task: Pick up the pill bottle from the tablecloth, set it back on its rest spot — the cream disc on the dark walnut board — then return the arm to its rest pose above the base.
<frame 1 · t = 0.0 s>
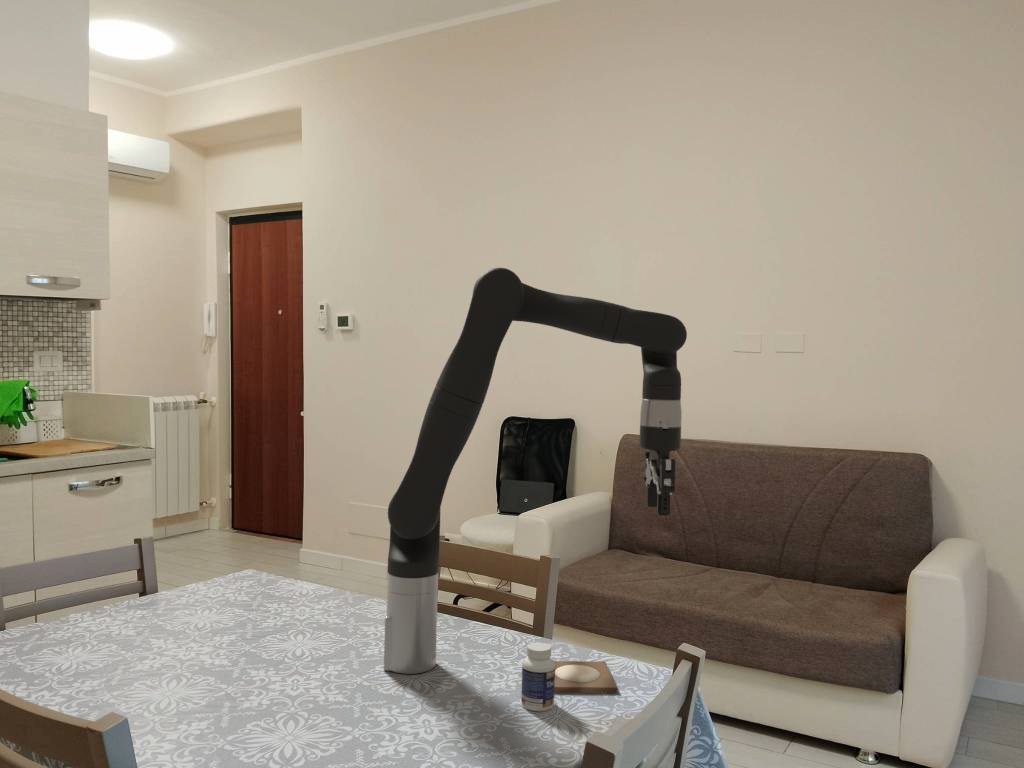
hand: (657, 510, 149), 29 cm above the table, fingers open, 8 cm apart
pill bottle: (537, 706, 131), on the table
rest board: (577, 679, 142), on the table
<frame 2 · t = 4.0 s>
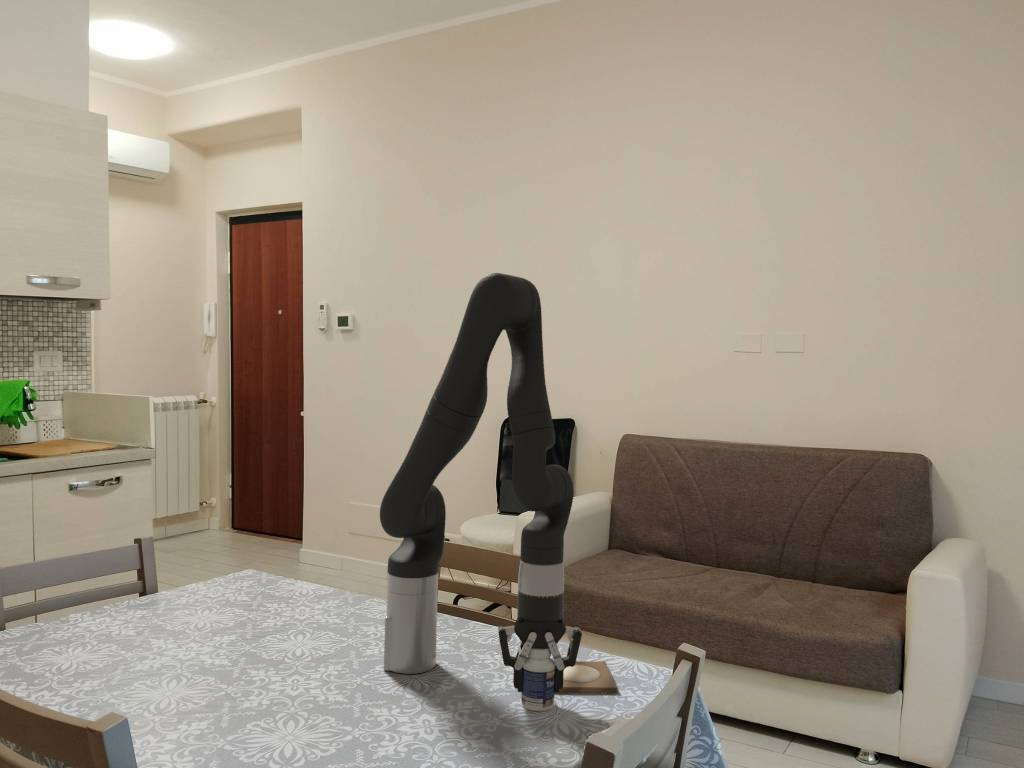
hand: (538, 690, 131), 2 cm above the table, fingers closed on pill bottle, 5 cm apart
pill bottle: (537, 706, 131), on the table, touching gripper
when the fingers open (5 cm above the table, at t = 9.5 s): pill bottle drops 1 cm, resting on rest board.
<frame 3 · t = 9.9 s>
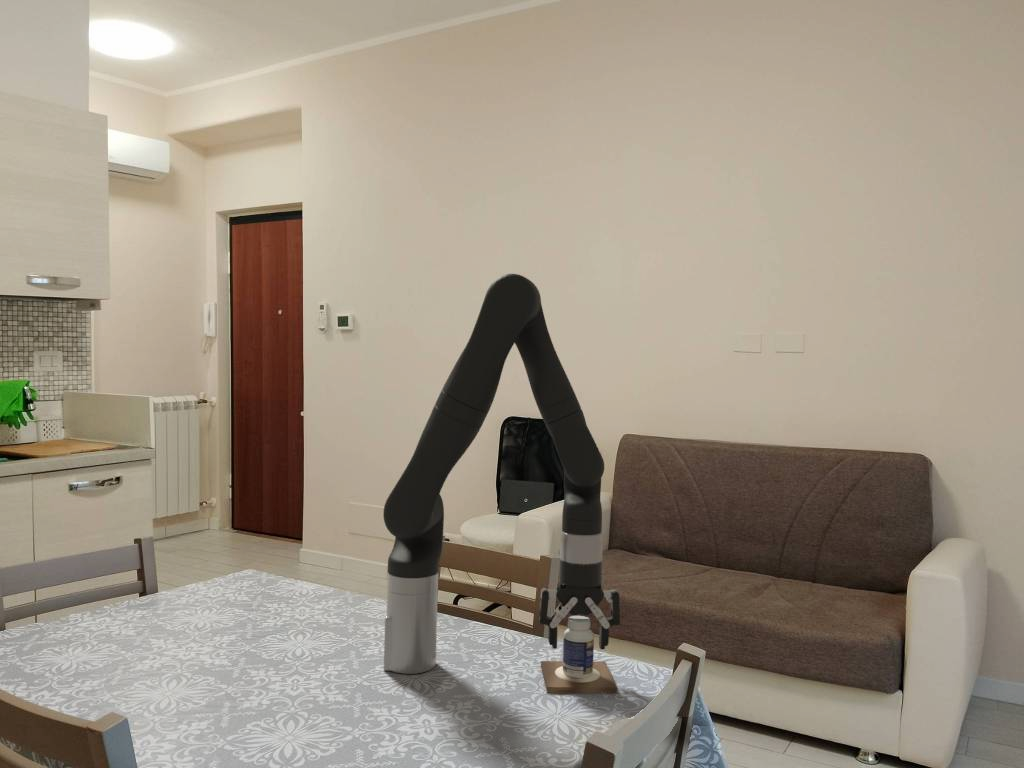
hand: (578, 647, 142), 6 cm above the table, fingers open, 8 cm apart
pill bottle: (577, 674, 142), point 1 cm above the table, touching rest board
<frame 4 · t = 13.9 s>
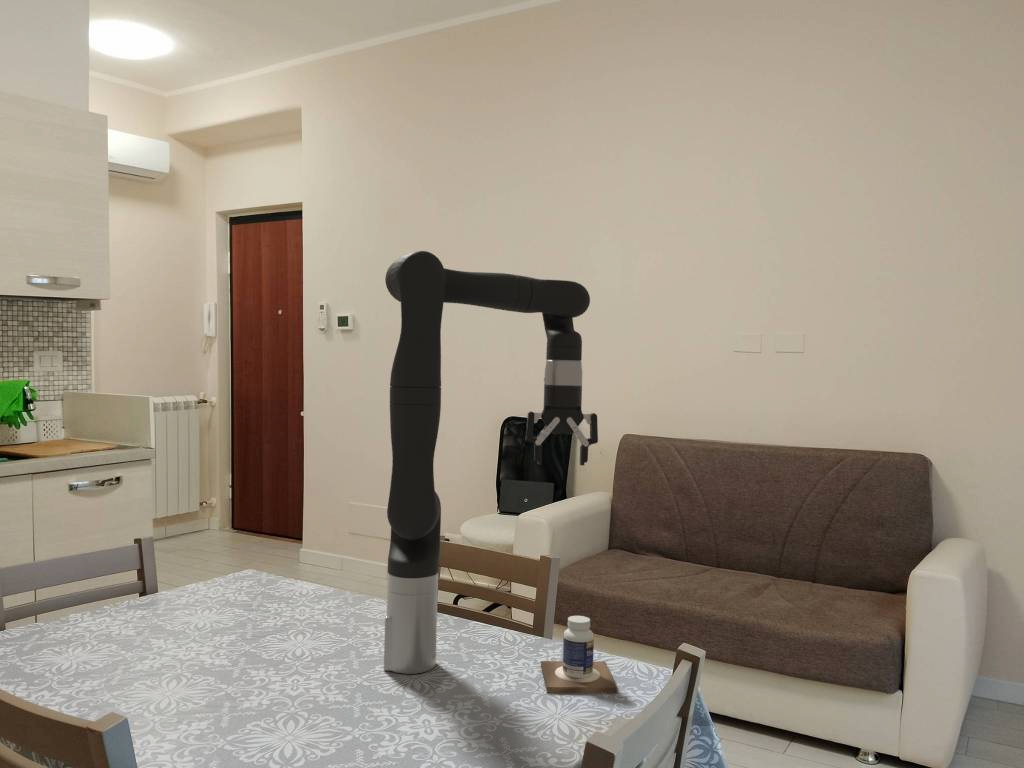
hand: (560, 464, 159), 36 cm above the table, fingers open, 8 cm apart
nothing on the table moved.
at the end: pill bottle inside the target area on the rest board (0.0 cm from its centre), point 0.9 cm above the rest board's base; pill bottle tilted 0°; the gripper is holding nothing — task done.
